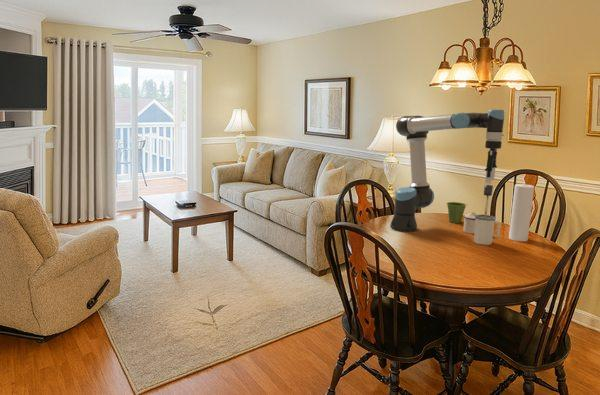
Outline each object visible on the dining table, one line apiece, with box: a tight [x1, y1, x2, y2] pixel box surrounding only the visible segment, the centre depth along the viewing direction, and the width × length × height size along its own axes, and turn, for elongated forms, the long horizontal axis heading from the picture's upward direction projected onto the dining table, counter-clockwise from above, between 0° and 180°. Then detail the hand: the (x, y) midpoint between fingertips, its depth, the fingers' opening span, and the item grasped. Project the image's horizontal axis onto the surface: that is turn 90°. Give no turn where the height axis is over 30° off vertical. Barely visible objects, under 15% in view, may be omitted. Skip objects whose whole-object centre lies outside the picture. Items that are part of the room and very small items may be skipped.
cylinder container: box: [508, 183, 535, 242], centre depth 251 cm, size 9×9×30 cm
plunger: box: [483, 184, 494, 218], centre depth 242 cm, size 6×6×20 cm
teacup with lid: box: [462, 211, 478, 235], centre depth 266 cm, size 12×9×12 cm
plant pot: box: [446, 201, 468, 224], centre depth 287 cm, size 12×12×11 cm
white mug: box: [473, 214, 501, 246], centre depth 244 cm, size 12×9×14 cm
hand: (489, 181), depth 240 cm, fingers open, 13 cm apart
